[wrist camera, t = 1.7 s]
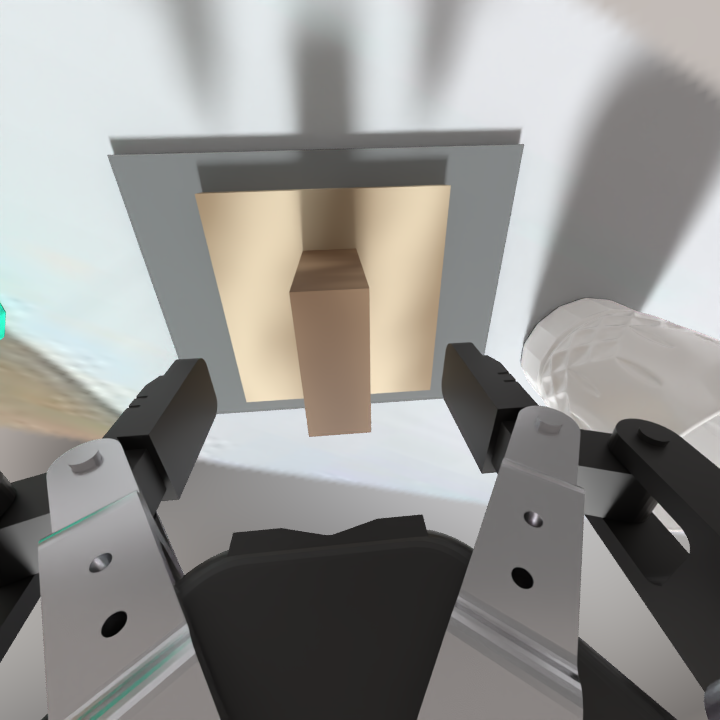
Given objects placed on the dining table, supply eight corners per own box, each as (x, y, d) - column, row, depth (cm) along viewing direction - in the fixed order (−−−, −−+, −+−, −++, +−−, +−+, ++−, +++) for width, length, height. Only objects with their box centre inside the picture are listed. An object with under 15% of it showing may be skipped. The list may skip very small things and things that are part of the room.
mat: (518, 144, 15) (523, 144, 15) (473, 391, 22) (476, 396, 22) (114, 155, 14) (107, 155, 14) (201, 410, 21) (198, 415, 21)
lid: (443, 184, 15) (518, 195, 9) (426, 380, 21) (465, 466, 15) (202, 192, 15) (114, 208, 9) (250, 392, 20) (216, 487, 14)
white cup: (642, 359, 22) (843, 482, 13) (531, 414, 24) (645, 553, 15) (623, 260, 18) (879, 340, 10) (493, 332, 20) (615, 455, 12)
